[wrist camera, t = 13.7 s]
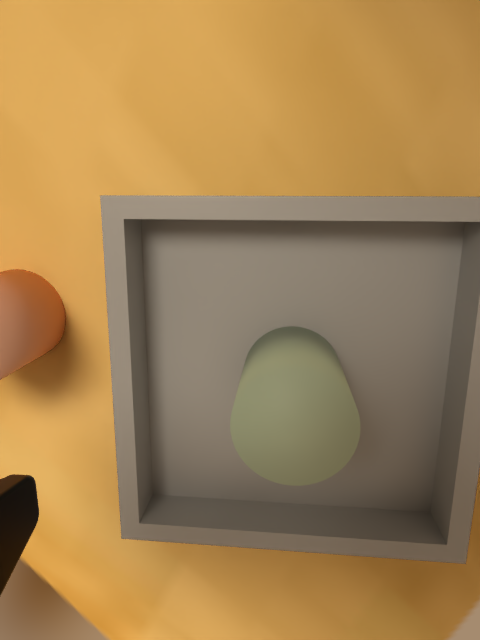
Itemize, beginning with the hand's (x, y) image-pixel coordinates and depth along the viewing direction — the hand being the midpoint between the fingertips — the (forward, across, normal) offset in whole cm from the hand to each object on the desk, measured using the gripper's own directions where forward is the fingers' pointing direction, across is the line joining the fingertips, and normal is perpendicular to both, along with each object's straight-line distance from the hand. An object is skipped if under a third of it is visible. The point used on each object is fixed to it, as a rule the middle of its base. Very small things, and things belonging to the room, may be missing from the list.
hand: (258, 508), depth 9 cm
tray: (+11, -1, +1) cm, 11 cm away
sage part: (+10, -1, +1) cm, 10 cm away
